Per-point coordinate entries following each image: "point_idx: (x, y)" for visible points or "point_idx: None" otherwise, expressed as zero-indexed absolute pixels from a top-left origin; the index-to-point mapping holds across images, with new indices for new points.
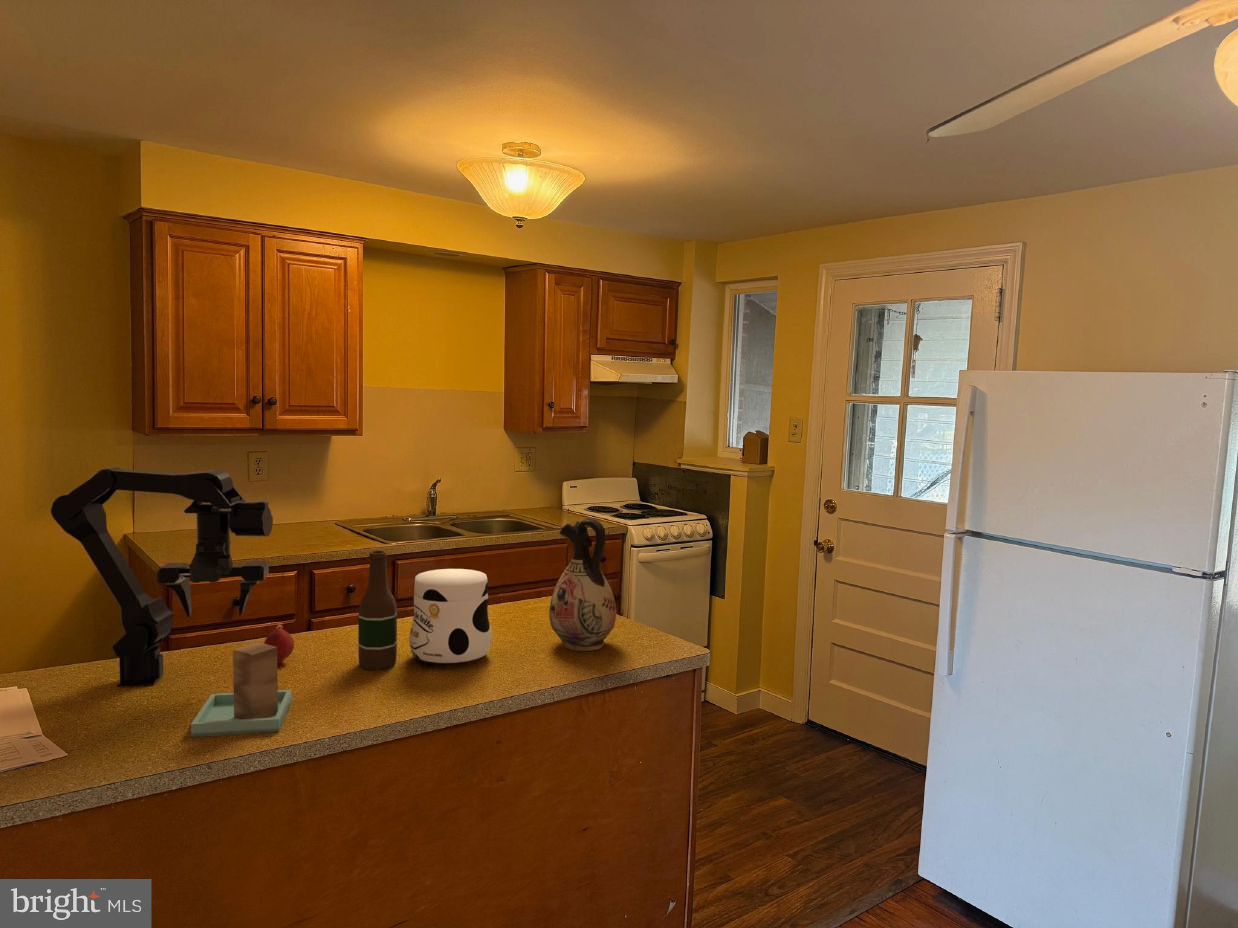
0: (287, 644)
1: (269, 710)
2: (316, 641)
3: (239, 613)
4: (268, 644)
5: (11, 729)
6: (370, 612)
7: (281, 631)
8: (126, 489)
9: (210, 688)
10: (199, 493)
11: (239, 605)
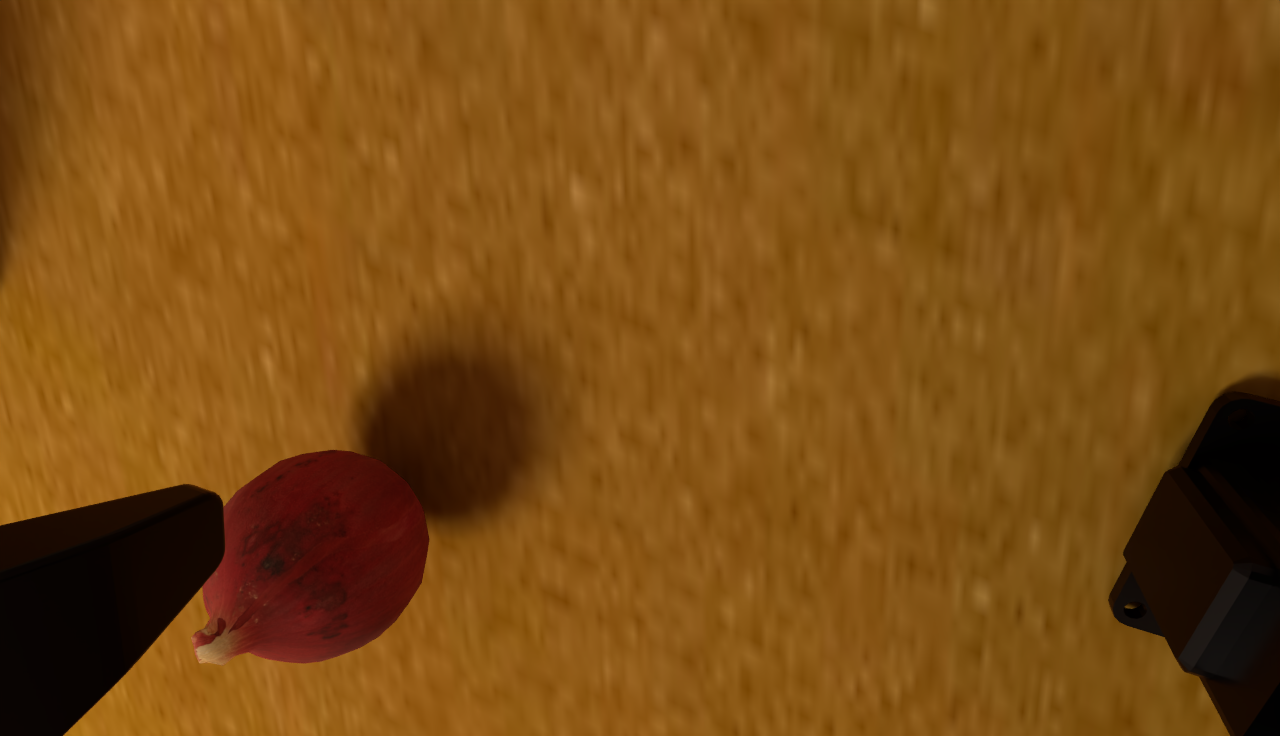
0: (243, 489)
1: None
2: (261, 728)
3: (189, 495)
4: (351, 526)
5: None
6: None
7: (218, 594)
8: None
9: (791, 157)
10: None
11: (36, 557)
